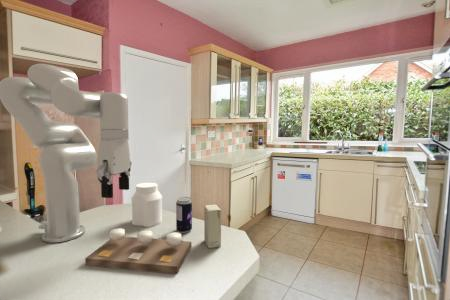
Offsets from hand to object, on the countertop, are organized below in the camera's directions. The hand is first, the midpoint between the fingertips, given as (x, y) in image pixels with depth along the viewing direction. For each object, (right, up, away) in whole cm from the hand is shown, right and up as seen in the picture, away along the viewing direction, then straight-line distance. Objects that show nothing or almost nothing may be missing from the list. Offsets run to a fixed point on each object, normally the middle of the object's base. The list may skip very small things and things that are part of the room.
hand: (116, 193), depth 74 cm
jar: (+2, -16, +25) cm, 29 cm away
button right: (+18, -14, -1) cm, 23 cm away
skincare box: (+29, -18, +7) cm, 35 cm away
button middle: (+9, -14, 0) cm, 17 cm away
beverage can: (+18, -17, +16) cm, 30 cm away
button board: (+8, -18, -1) cm, 20 cm away
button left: (0, -14, +1) cm, 14 cm away
